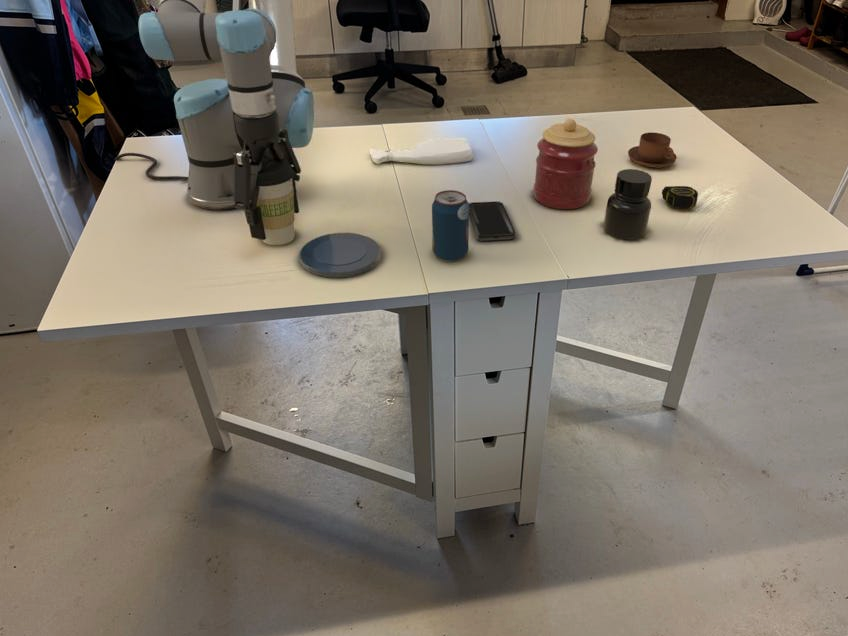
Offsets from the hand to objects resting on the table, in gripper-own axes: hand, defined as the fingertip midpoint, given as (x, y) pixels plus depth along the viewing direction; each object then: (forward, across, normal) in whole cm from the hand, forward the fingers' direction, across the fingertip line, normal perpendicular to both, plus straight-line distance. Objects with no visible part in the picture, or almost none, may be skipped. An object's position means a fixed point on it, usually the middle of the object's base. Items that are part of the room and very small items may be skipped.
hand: (276, 224), depth 129 cm
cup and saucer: (+3, +69, -64) cm, 94 cm away
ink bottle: (+3, +30, -64) cm, 71 cm away
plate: (+3, -2, -15) cm, 15 cm away
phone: (+3, +22, -37) cm, 43 cm away
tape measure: (+3, +47, -73) cm, 87 cm away
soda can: (+3, +7, -34) cm, 35 cm away
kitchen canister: (+3, +40, -48) cm, 63 cm away
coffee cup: (+3, 0, 0) cm, 3 cm away
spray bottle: (+3, +48, -10) cm, 49 cm away
